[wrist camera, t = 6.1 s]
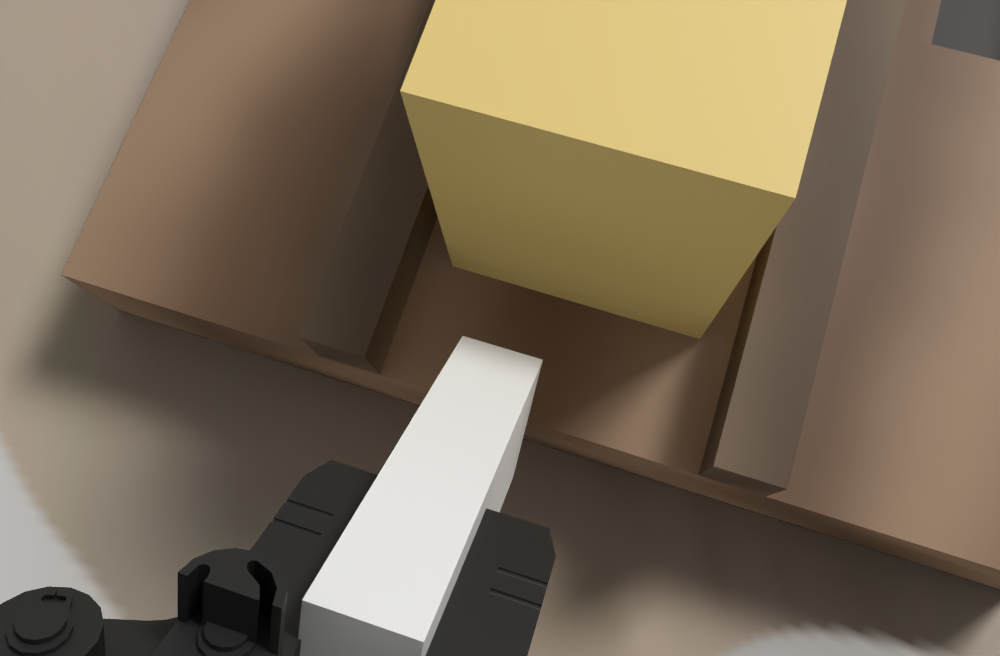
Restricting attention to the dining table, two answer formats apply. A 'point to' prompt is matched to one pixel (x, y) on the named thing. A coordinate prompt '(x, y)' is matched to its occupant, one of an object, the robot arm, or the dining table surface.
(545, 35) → the ochre block
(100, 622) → the robot arm
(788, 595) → the dining table surface
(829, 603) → the dining table surface
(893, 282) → the trap board
